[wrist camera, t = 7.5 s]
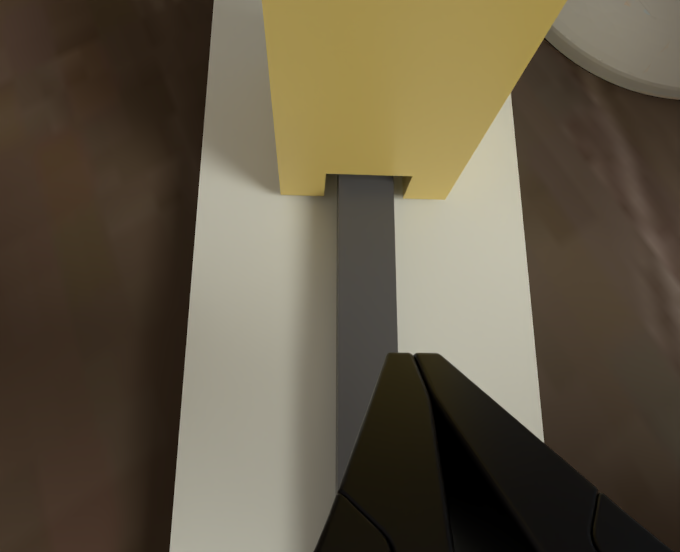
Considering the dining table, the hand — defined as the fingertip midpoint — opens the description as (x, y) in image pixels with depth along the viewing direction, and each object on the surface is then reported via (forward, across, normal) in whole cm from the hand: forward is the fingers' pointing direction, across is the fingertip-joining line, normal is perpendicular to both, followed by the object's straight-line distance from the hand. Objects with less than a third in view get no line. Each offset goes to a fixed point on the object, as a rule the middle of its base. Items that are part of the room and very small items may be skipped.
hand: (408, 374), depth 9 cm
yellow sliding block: (+10, 0, -2) cm, 10 cm away
